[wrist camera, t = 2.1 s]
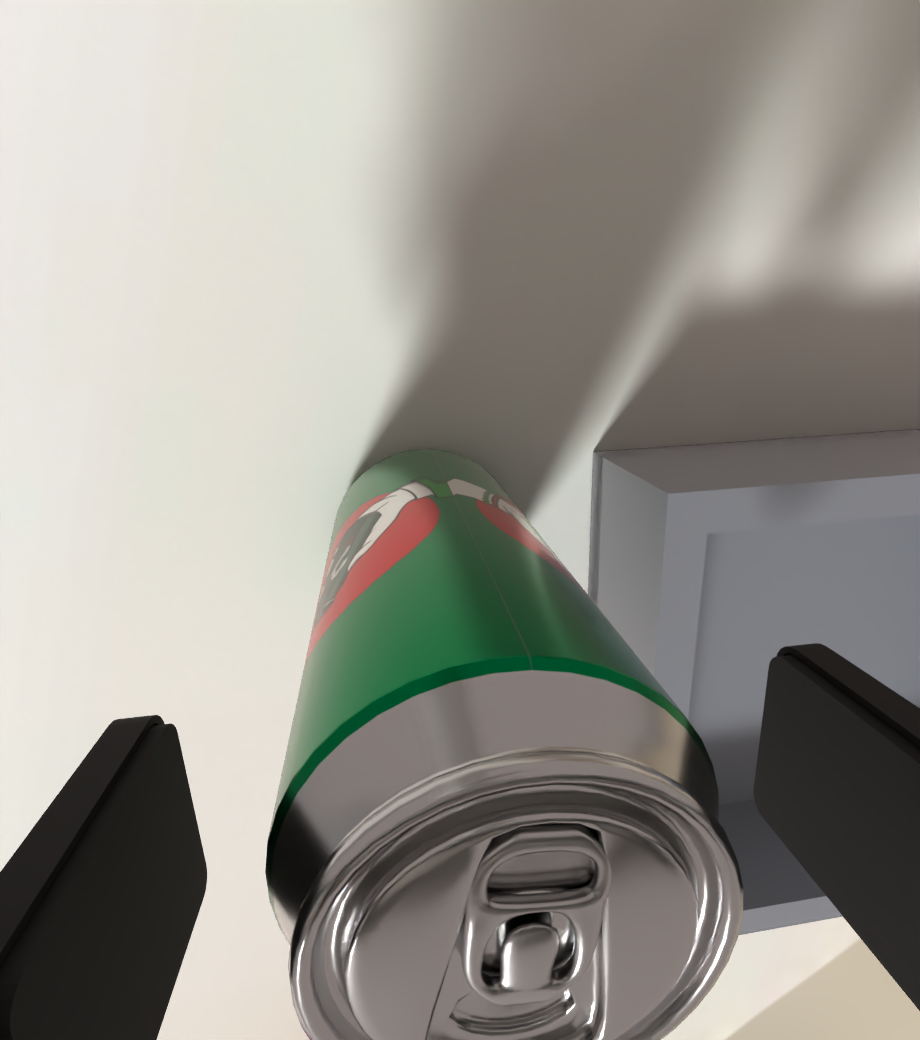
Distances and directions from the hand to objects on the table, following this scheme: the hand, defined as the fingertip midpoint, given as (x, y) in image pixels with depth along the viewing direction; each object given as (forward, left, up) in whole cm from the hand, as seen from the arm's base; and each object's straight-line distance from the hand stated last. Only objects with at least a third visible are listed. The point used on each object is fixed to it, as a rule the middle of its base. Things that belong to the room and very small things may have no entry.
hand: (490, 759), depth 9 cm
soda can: (-1, 0, -9) cm, 9 cm away
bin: (+4, +12, -8) cm, 15 cm away
